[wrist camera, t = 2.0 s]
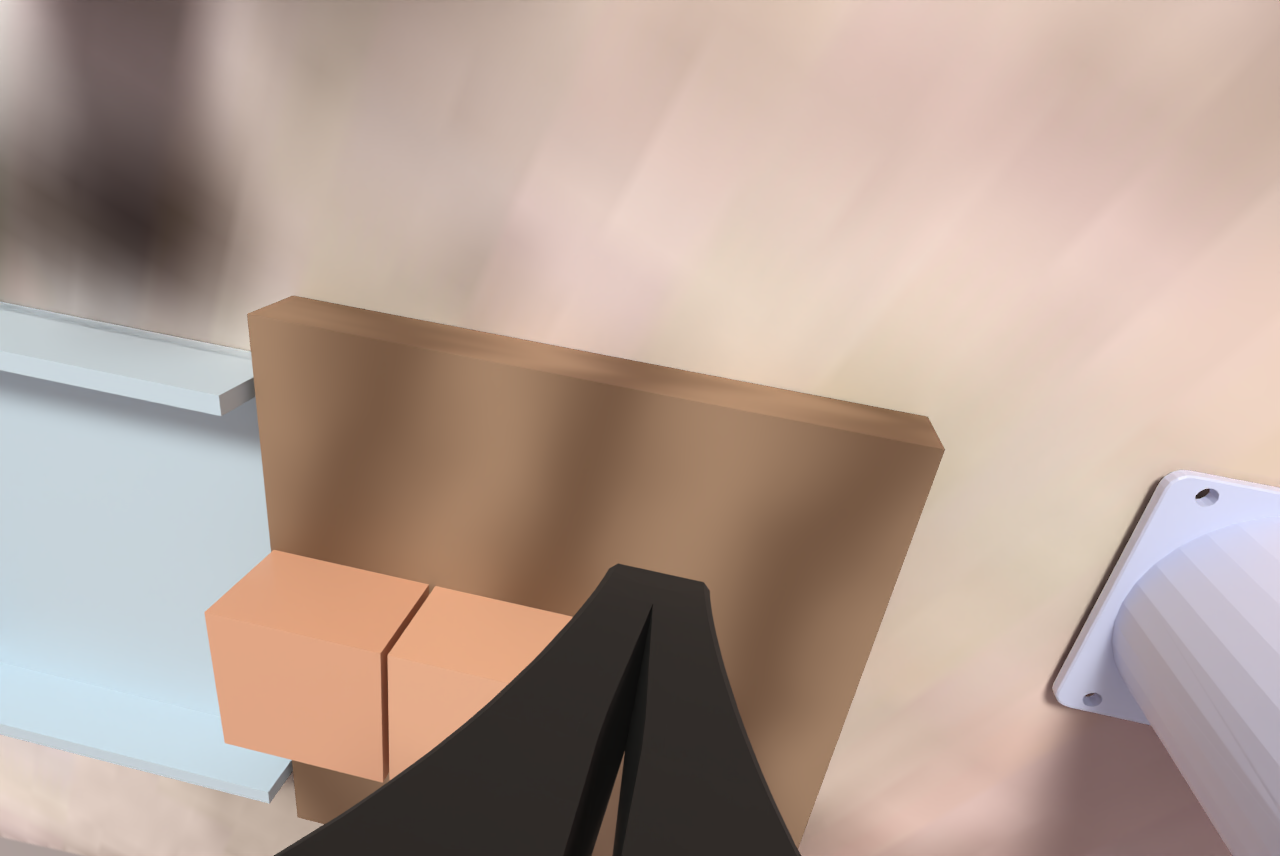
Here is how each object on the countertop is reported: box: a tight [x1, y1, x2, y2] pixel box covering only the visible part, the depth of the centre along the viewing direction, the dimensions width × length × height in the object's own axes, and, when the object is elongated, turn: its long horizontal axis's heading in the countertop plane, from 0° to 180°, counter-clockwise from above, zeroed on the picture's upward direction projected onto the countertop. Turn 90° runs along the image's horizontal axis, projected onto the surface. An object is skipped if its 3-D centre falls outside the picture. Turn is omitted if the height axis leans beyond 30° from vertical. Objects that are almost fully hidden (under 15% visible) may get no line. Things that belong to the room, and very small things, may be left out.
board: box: [247, 296, 945, 856], centre depth 23 cm, size 18×20×2 cm
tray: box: [0, 302, 293, 804], centre depth 24 cm, size 15×16×3 cm
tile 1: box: [204, 550, 429, 783], centre depth 21 cm, size 5×5×3 cm
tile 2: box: [388, 586, 573, 780], centre depth 21 cm, size 5×5×3 cm
